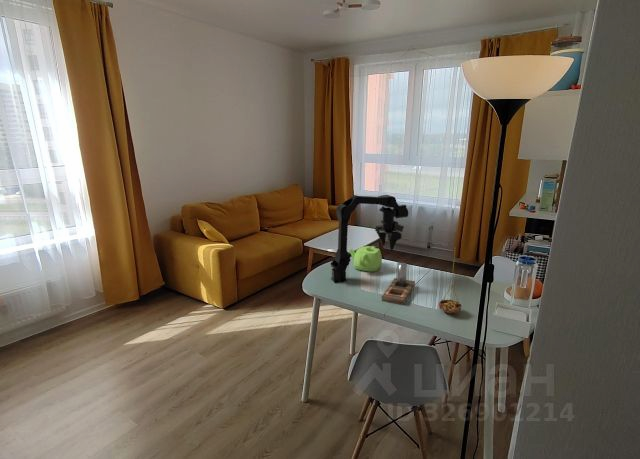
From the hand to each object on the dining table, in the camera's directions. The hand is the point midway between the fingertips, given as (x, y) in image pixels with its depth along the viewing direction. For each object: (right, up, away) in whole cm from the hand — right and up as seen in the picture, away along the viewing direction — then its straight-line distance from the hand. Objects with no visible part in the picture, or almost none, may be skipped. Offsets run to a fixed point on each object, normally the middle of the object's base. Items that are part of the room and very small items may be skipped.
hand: (387, 247), depth 184 cm
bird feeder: (+18, -26, -39) cm, 50 cm away
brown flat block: (+1, -21, -21) cm, 29 cm away
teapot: (-11, -13, +12) cm, 20 cm away
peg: (+4, -20, -16) cm, 26 cm away
